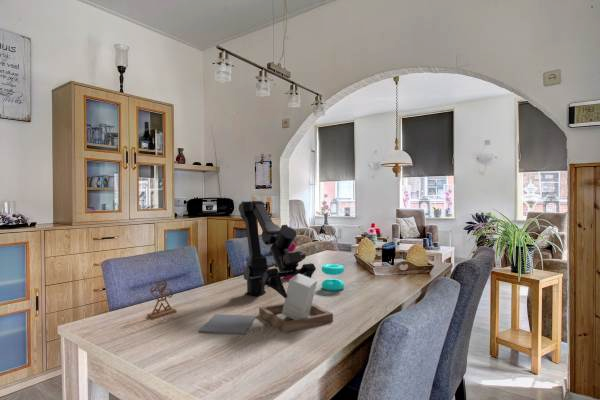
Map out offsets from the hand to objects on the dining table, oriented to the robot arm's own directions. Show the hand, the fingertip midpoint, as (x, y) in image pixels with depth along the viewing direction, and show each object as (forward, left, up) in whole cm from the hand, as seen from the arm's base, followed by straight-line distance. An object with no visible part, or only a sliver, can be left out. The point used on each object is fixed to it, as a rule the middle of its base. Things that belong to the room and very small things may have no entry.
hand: (298, 295), depth 113 cm
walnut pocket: (-2, +1, -8) cm, 8 cm away
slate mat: (-18, -14, -8) cm, 24 cm away
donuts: (-4, +41, -8) cm, 42 cm away
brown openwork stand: (-45, -16, -8) cm, 48 cm away
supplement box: (-2, 0, -7) cm, 7 cm away
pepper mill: (-30, +49, -8) cm, 58 cm away
